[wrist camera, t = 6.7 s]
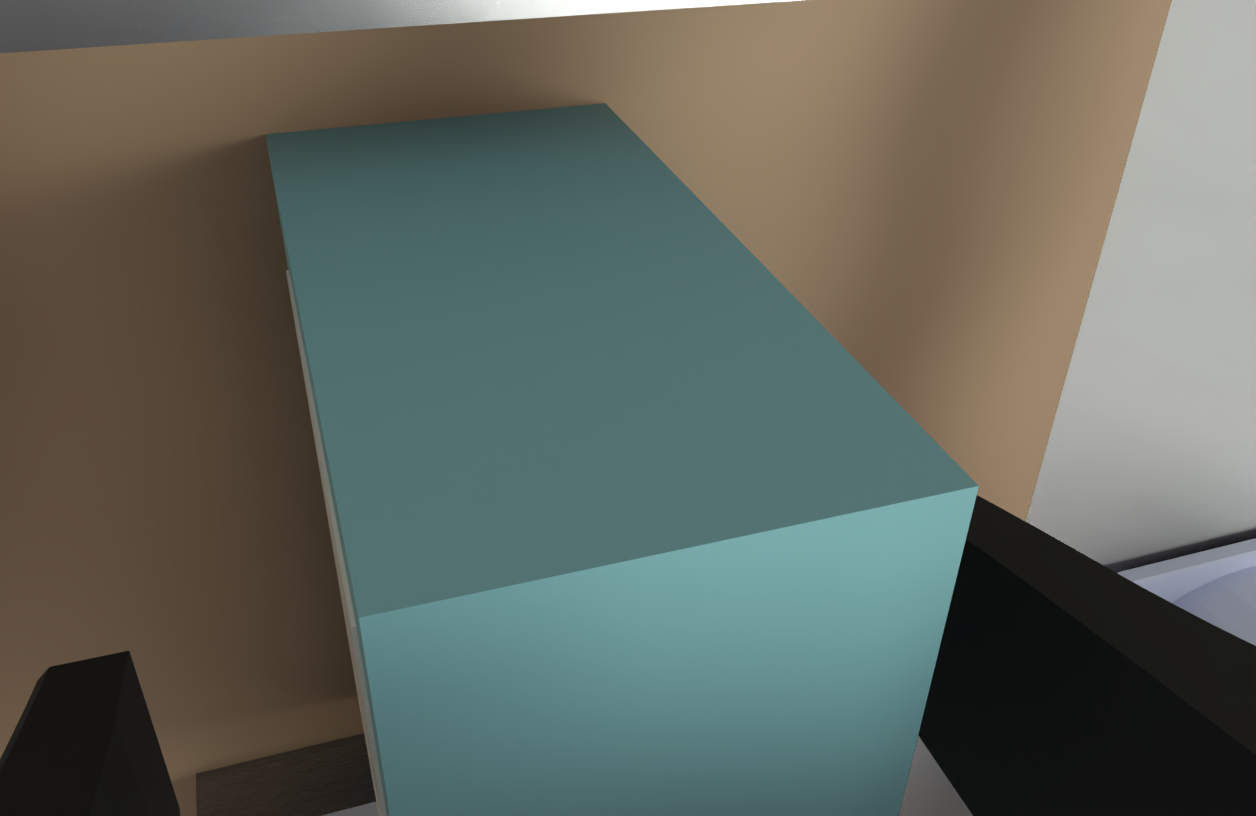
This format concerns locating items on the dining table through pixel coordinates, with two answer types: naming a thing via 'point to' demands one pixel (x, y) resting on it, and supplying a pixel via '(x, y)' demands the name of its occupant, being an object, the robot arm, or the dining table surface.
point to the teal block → (602, 485)
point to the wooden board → (451, 87)
